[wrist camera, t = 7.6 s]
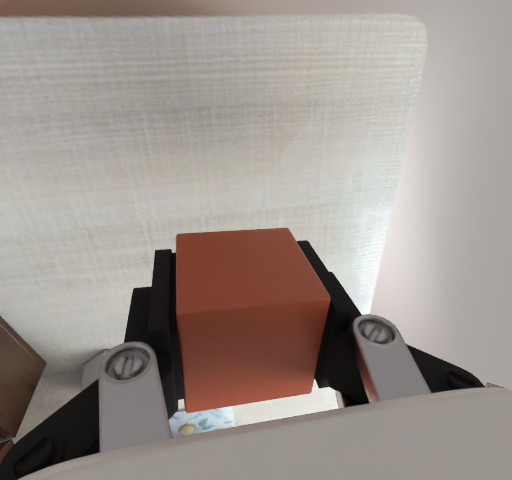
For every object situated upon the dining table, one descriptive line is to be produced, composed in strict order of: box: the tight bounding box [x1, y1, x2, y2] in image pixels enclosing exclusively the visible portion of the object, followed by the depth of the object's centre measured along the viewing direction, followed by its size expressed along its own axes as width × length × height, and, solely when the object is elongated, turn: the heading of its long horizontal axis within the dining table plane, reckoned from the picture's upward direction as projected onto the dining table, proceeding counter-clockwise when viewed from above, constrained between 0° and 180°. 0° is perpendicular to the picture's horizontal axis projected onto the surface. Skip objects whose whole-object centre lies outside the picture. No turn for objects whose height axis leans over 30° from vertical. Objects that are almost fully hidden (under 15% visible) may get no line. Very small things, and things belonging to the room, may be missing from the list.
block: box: [176, 228, 330, 413], centre depth 11 cm, size 4×4×4 cm
